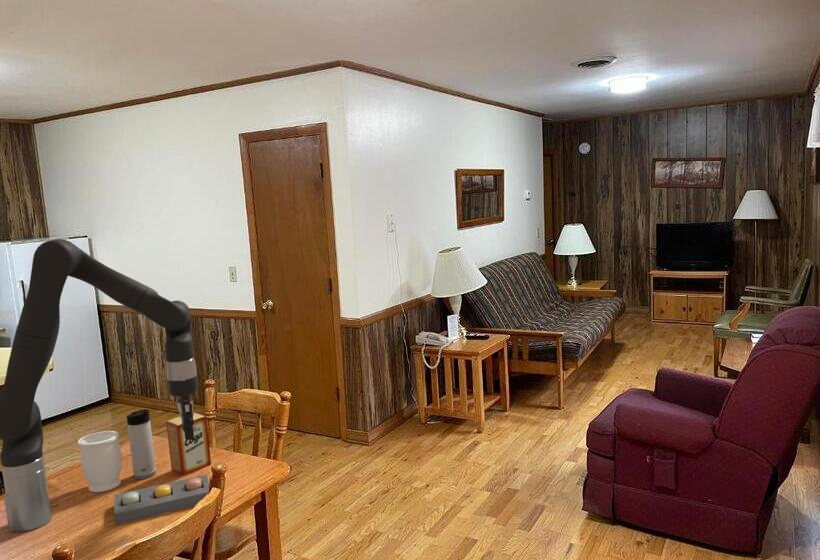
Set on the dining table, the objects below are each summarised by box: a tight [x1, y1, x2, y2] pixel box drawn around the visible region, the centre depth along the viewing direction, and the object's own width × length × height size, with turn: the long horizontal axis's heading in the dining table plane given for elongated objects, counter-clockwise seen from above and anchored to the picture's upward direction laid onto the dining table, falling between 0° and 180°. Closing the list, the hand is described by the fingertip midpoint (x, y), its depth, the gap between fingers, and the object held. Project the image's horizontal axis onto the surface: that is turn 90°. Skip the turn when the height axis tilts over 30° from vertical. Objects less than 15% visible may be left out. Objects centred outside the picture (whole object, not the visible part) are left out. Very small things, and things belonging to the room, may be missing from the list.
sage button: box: [122, 491, 139, 506], centre depth 167 cm, size 4×4×3 cm
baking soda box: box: [165, 412, 212, 477], centre depth 192 cm, size 10×6×16 cm
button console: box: [113, 473, 210, 526], centre depth 171 cm, size 24×12×3 cm, turn 114°
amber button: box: [155, 484, 171, 498], centre depth 170 cm, size 4×4×3 cm
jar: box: [77, 430, 123, 493], centre depth 183 cm, size 11×10×15 cm
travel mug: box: [126, 408, 157, 480], centre depth 189 cm, size 6×7×20 cm
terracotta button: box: [186, 477, 202, 491], centre depth 174 cm, size 4×4×3 cm
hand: (188, 434), depth 172 cm, fingers open, 6 cm apart
